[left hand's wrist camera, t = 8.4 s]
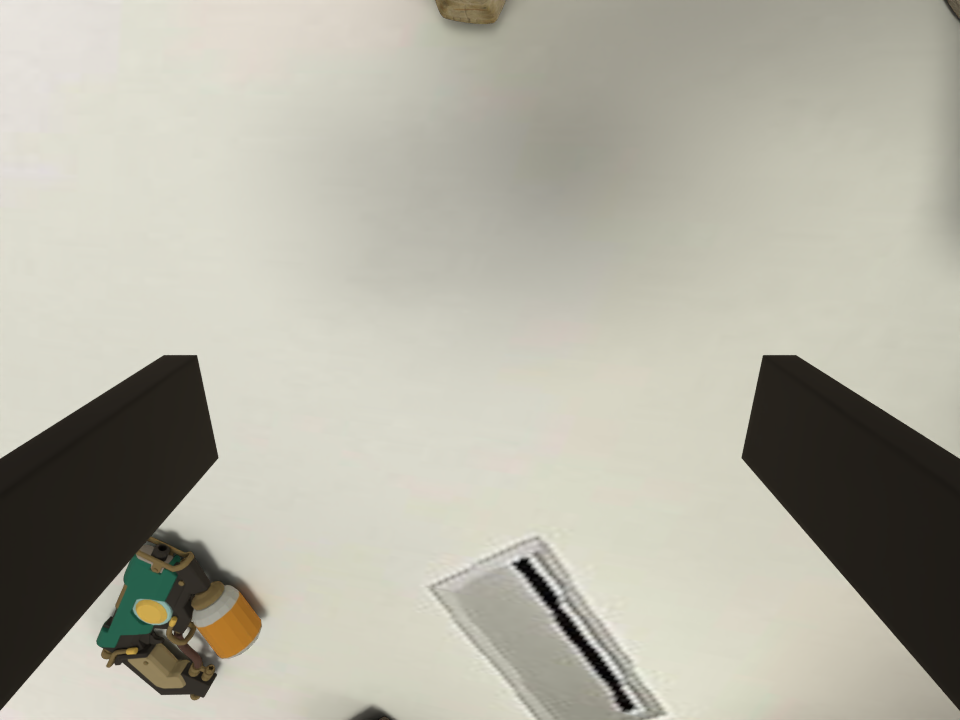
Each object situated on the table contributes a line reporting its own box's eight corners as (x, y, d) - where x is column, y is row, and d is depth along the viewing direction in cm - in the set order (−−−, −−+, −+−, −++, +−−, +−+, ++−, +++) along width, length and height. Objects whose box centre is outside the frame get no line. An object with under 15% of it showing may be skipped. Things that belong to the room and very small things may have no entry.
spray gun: (198, 686, 55) (74, 602, 51) (297, 612, 50) (166, 513, 46) (173, 728, 51) (37, 641, 47) (278, 652, 46) (133, 547, 42)
